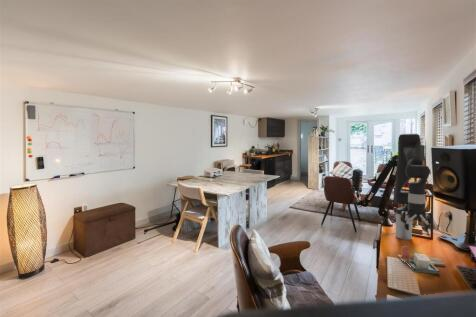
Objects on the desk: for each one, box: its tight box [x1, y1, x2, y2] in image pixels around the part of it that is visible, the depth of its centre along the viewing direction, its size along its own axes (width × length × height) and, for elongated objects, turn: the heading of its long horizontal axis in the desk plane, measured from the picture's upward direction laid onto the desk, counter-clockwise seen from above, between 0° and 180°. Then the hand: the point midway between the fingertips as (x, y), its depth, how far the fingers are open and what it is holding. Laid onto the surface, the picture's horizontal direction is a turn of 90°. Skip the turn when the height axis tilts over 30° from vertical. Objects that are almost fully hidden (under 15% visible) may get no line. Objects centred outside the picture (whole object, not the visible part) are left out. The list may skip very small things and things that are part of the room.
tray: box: [406, 260, 440, 275], centre depth 123 cm, size 9×11×2 cm
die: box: [413, 252, 430, 269], centre depth 123 cm, size 5×5×5 cm
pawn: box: [401, 245, 410, 260], centre depth 132 cm, size 4×4×7 cm
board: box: [397, 254, 446, 267], centre depth 130 cm, size 7×20×1 cm, turn 75°
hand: (416, 230), depth 126 cm, fingers open, 8 cm apart
